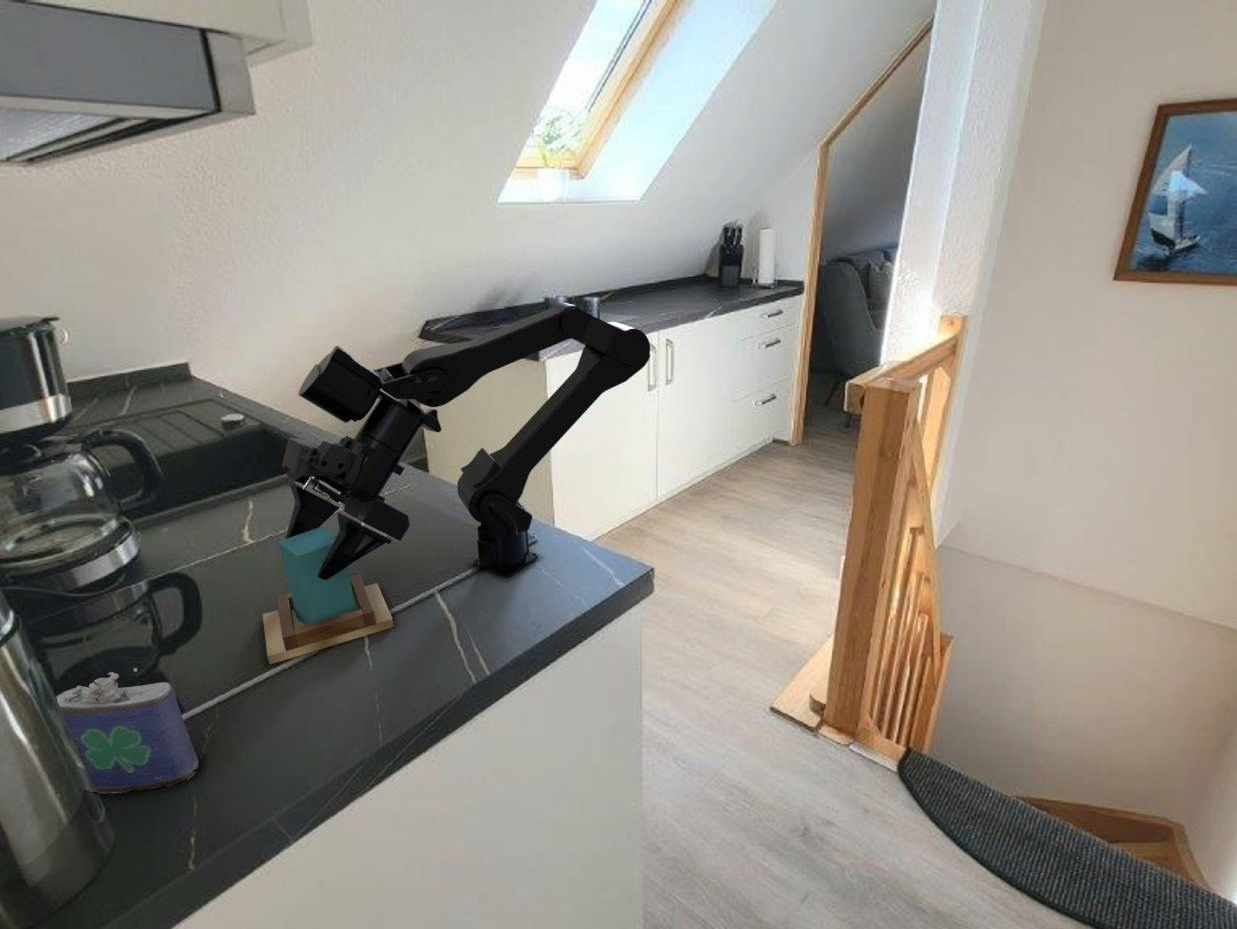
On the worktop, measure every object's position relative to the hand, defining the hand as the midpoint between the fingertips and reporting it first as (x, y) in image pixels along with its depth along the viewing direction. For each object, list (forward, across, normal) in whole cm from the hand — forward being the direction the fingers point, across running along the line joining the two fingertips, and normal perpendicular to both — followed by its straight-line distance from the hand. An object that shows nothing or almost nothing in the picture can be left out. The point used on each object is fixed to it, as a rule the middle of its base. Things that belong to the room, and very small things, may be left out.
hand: (303, 564), depth 72 cm
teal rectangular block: (+4, 0, +6) cm, 8 cm away
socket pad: (+5, 0, +7) cm, 9 cm away
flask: (+20, +10, -8) cm, 24 cm away
